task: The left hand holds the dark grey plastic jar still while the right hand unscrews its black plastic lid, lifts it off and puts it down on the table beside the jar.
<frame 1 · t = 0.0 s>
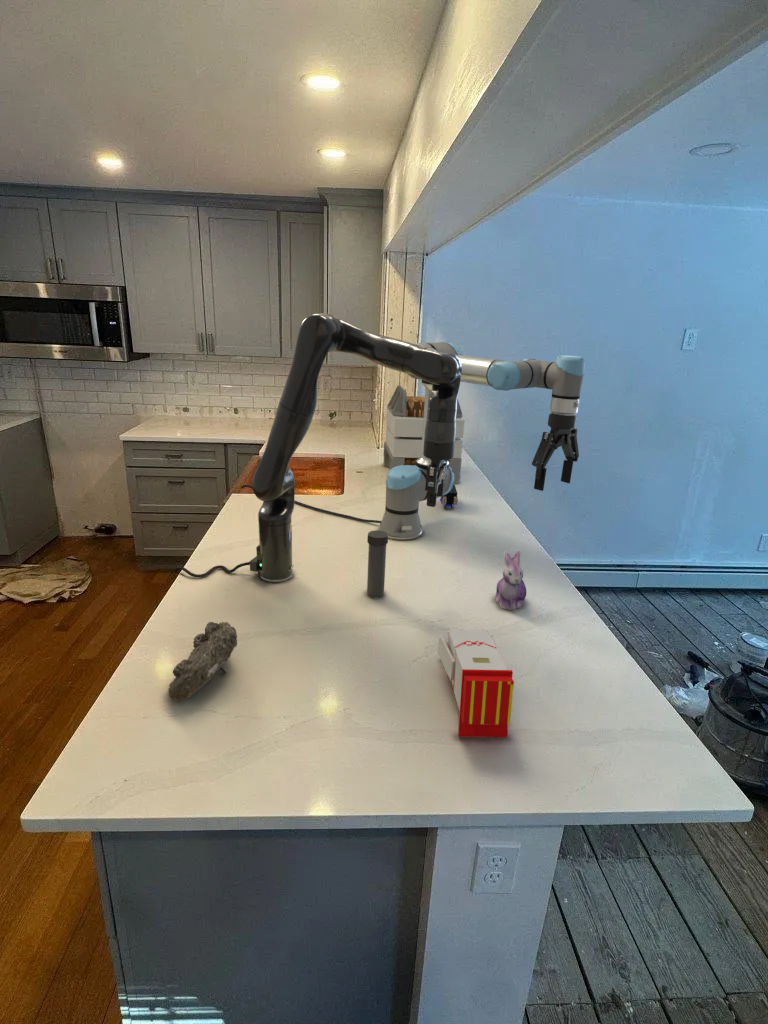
left hand: (434, 500, 144), 29 cm above the counter, tool pointing down, fingers open, 8 cm apart
right hand: (552, 485, 166), 28 cm above the counter, tool pointing down, fingers open, 13 cm apart
white slatted crate: (419, 473, 275), on the counter
figurine character: (447, 505, 232), on the counter
toy: (469, 691, 119), on the counter
figurine: (510, 603, 156), on the counter
fossil: (208, 671, 121), on the counter
lid: (377, 535, 151), point 18 cm above the counter, screwed on, not yet turned
jar: (375, 593, 157), on the counter
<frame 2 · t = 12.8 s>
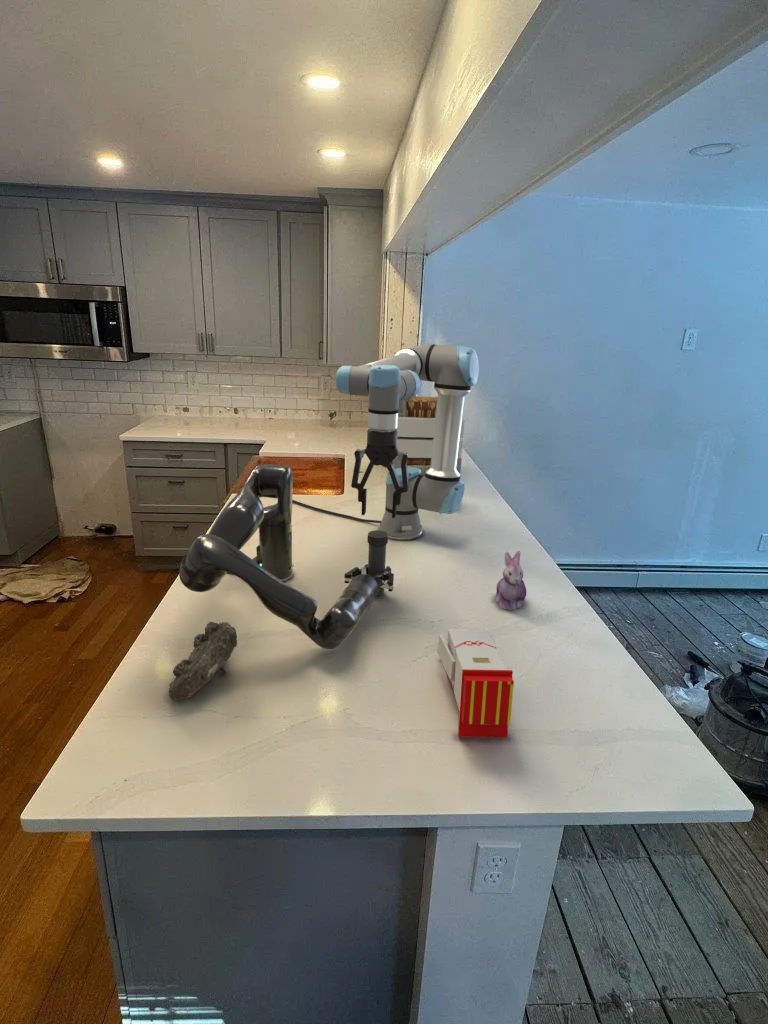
left hand: (379, 567, 157), 7 cm above the counter, tool horizontal, fingers closed on jar, 4 cm apart
right hand: (378, 514, 149), 23 cm above the counter, tool pointing down, fingers open, 7 cm apart
jar: (375, 593, 157), on the counter, touching left hand
everything else where it was.
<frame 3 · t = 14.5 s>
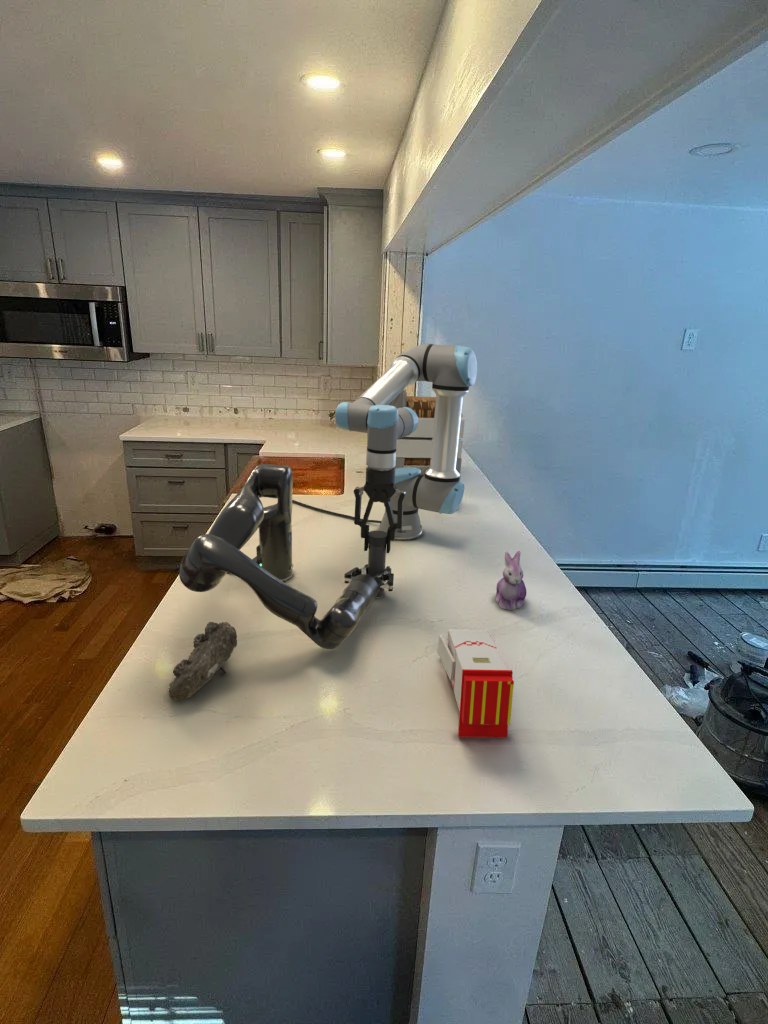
left hand: (379, 567, 157), 7 cm above the counter, tool horizontal, fingers closed on jar, 4 cm apart
right hand: (377, 549, 153), 13 cm above the counter, tool pointing down, fingers closed on lid, 5 cm apart
lid: (377, 535, 151), point 18 cm above the counter, screwed on, not yet turned, touching right hand
jar: (375, 593, 157), on the counter, touching left hand
everything else where it was.
when the right hand's fingers open (14 cm above the counter, at t = 16.1 s): lid stays where it is, point 18 cm above the counter.
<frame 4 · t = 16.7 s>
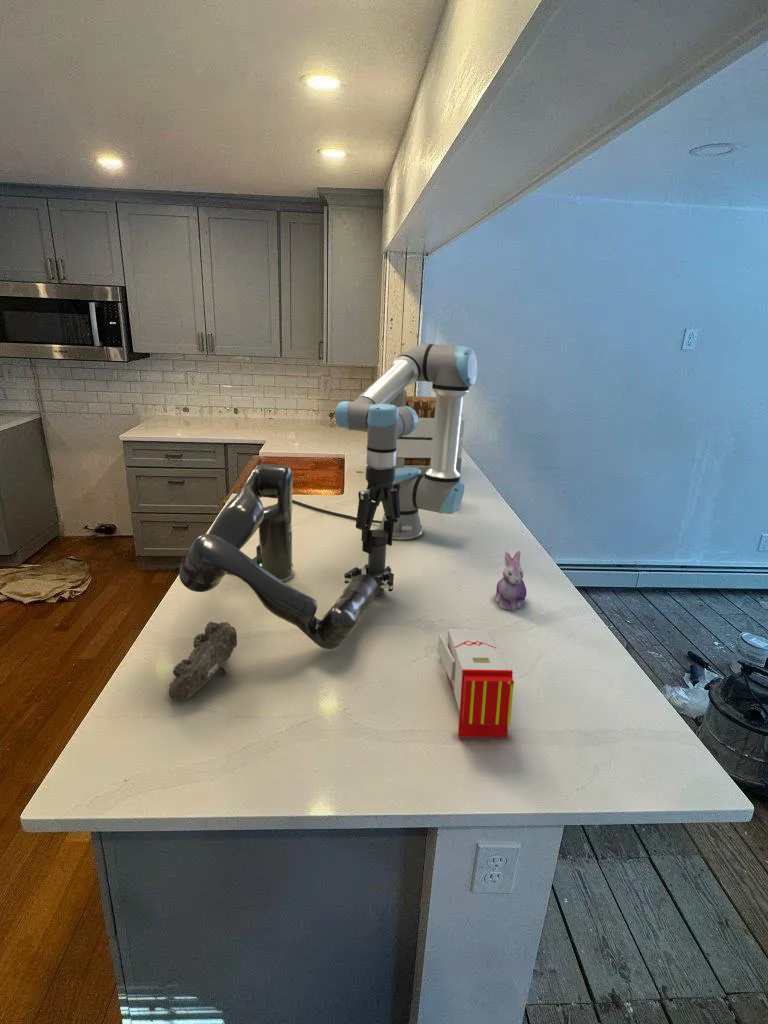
left hand: (379, 567, 157), 7 cm above the counter, tool horizontal, fingers closed on jar, 4 cm apart
right hand: (377, 547, 153), 14 cm above the counter, tool pointing down, fingers open, 7 cm apart
lid: (377, 534, 151), point 18 cm above the counter, turned 108° so far, risen 0.3 cm, still on its thread
jar: (375, 593, 157), on the counter, touching left hand
everything else where it was.
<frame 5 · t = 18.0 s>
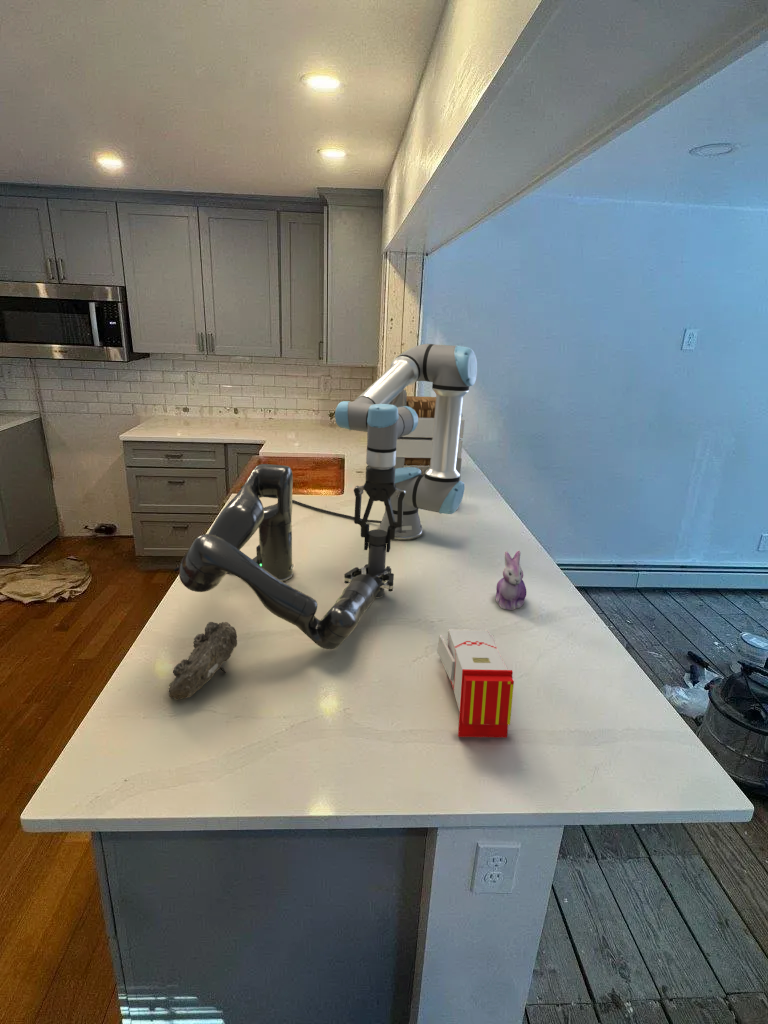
left hand: (379, 567, 157), 7 cm above the counter, tool horizontal, fingers closed on jar, 4 cm apart
right hand: (377, 549, 153), 14 cm above the counter, tool pointing down, fingers closed on lid, 5 cm apart
lid: (377, 534, 151), point 18 cm above the counter, turned 108° so far, risen 0.3 cm, still on its thread, touching right hand
jar: (375, 593, 157), on the counter, touching left hand
everything else where it was.
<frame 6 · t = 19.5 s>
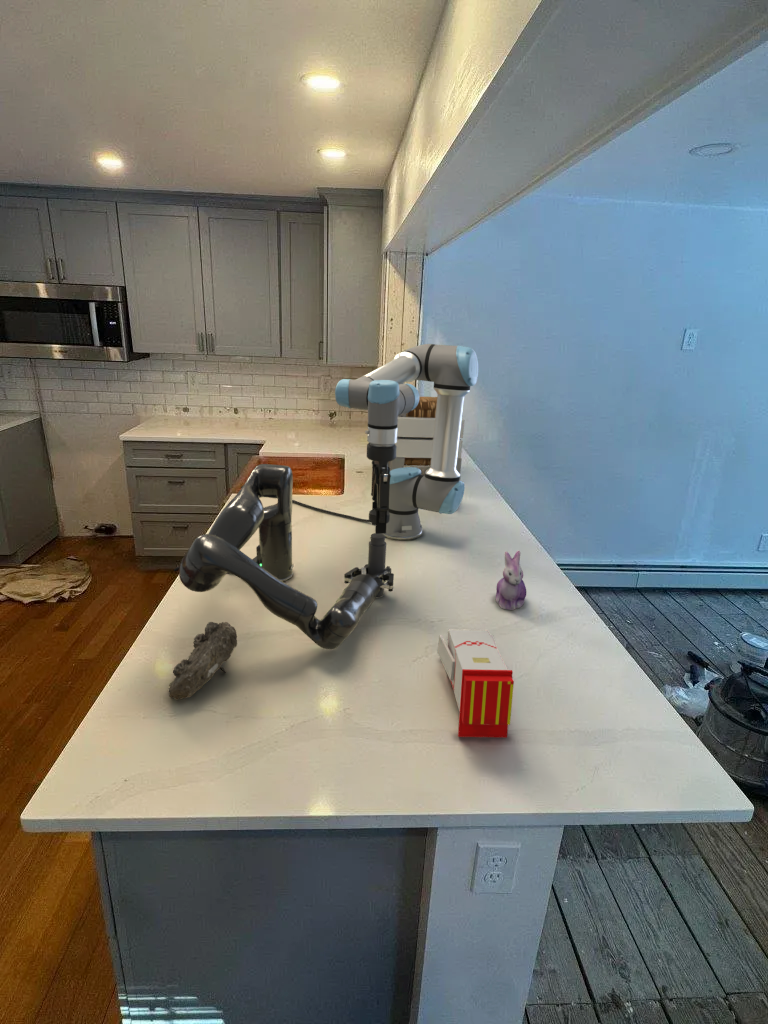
left hand: (379, 567, 157), 7 cm above the counter, tool horizontal, fingers closed on jar, 4 cm apart
right hand: (378, 528, 151), 19 cm above the counter, tool pointing down, fingers closed on lid, 5 cm apart
lid: (379, 513, 150), point 24 cm above the counter, off its thread, touching right hand
jar: (375, 593, 157), on the counter, touching left hand
everything else where it was.
when the right hand's fingers open (0 cm above the counter, at t = 25.8 s): lid drops 2 cm, point 2 cm above the counter.
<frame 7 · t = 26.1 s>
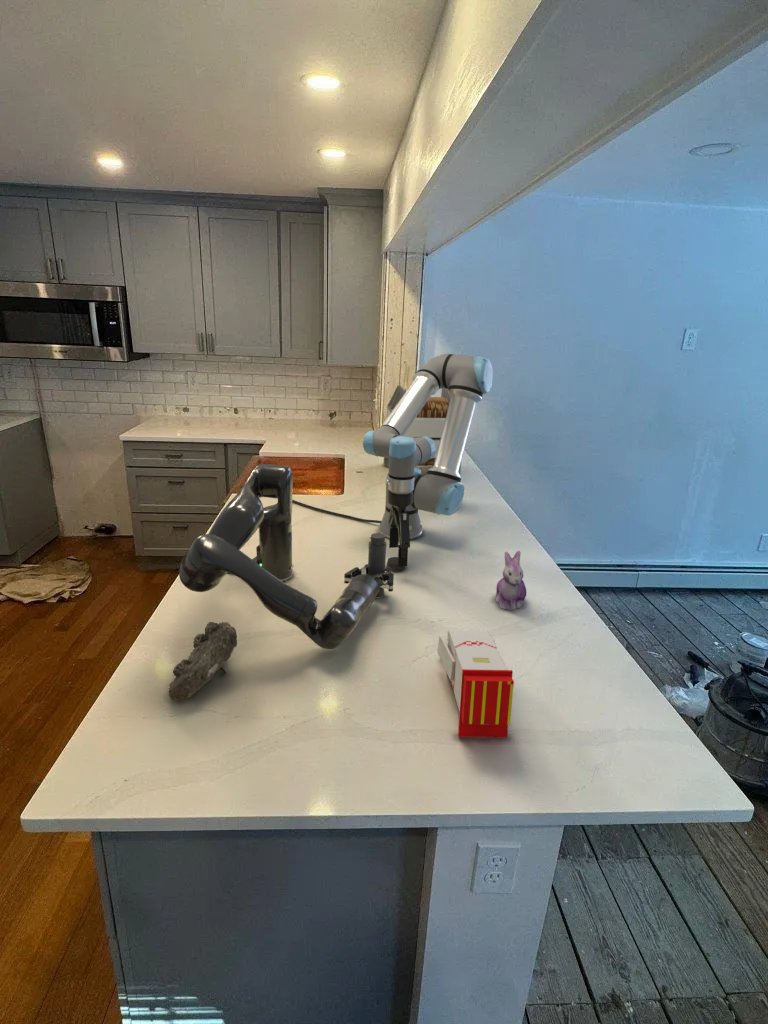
left hand: (379, 567, 157), 7 cm above the counter, tool horizontal, fingers closed on jar, 4 cm apart
right hand: (397, 556, 173), 3 cm above the counter, tool pointing down, fingers open, 13 cm apart
lid: (396, 561, 173), point 2 cm above the counter, off its thread
jar: (375, 593, 157), on the counter, touching left hand
everything else where it was.
when the left hand's fingers open (7 cm above the counter, at t = 26.4 s): jar stays where it is, on the counter.
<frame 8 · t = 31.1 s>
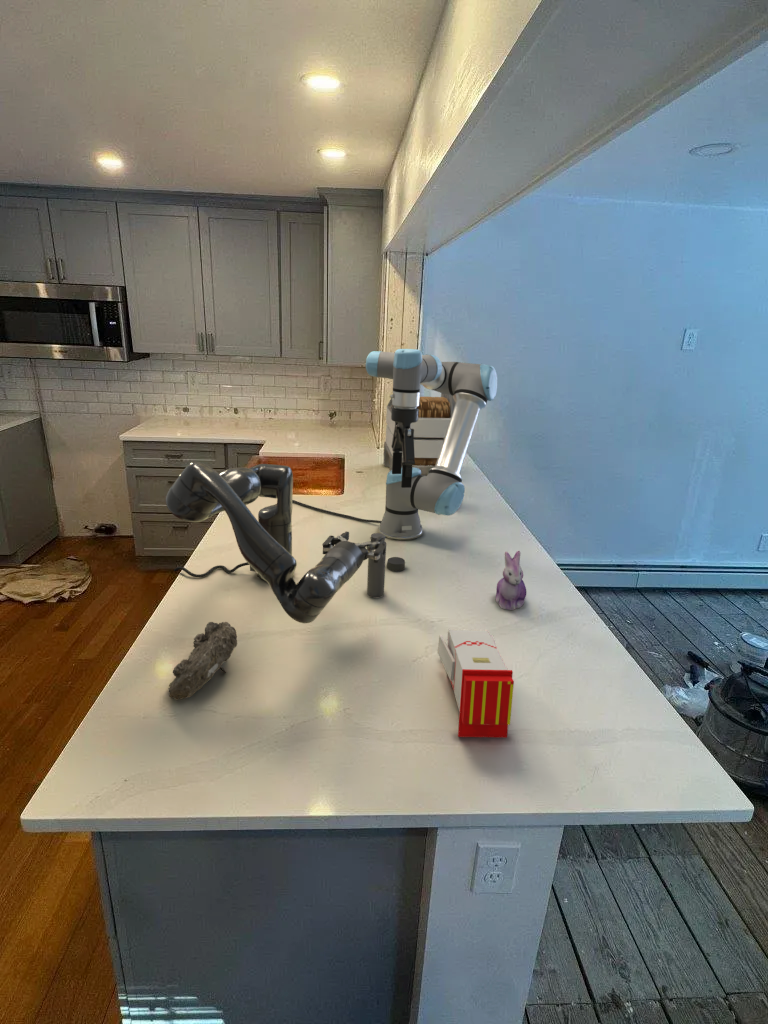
left hand: (364, 537, 139), 21 cm above the counter, tool horizontal, fingers open, 8 cm apart
right hand: (401, 480, 165), 28 cm above the counter, tool pointing down, fingers open, 13 cm apart
jar: (375, 593, 157), on the counter
everything else where it was.
at the end: lid came off its thread; lid point 2.1 cm above the counter; the left hand is holding nothing; the right hand is holding nothing; jar tilted 0°; jar moved 0.0 cm from its start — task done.
